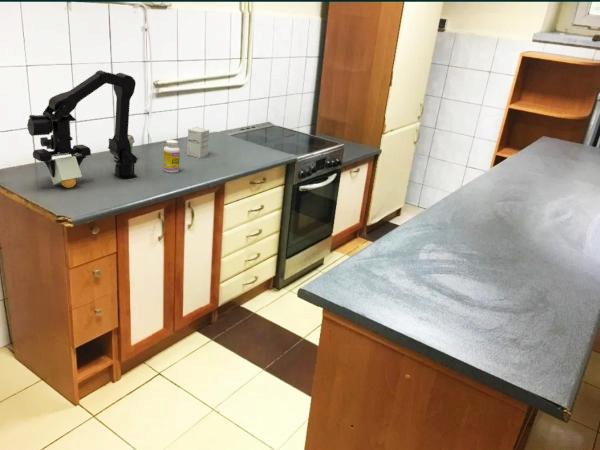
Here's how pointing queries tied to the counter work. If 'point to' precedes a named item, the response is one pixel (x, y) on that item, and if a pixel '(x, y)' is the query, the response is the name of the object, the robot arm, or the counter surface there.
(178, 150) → the supplement bottle
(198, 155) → the supplement box
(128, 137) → the food container
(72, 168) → the sage green cuboid
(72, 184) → the ball
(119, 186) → the counter surface
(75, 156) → the robot arm
